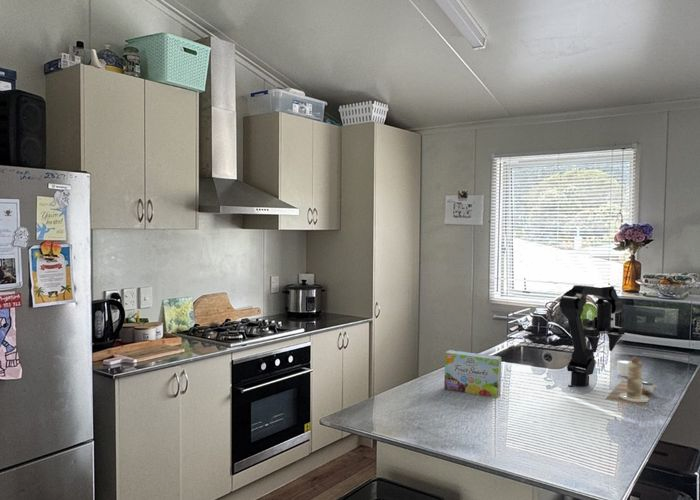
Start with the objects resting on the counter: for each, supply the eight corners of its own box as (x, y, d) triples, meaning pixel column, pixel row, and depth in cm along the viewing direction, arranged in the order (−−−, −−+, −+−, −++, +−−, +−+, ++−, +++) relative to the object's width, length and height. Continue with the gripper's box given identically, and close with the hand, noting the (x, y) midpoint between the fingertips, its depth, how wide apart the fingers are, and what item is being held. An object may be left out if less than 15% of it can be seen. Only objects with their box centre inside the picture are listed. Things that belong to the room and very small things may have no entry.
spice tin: (647, 395, 222) (648, 384, 222) (638, 392, 226) (639, 381, 226) (655, 394, 224) (656, 383, 224) (646, 391, 228) (646, 380, 228)
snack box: (443, 389, 228) (444, 351, 227) (447, 386, 233) (449, 349, 232) (497, 398, 218) (498, 358, 218) (500, 394, 223) (502, 355, 223)
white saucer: (635, 403, 211) (635, 402, 211) (613, 396, 220) (613, 394, 220) (654, 401, 215) (654, 399, 215) (632, 393, 224) (632, 392, 224)
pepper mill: (625, 397, 217) (627, 357, 216) (626, 394, 221) (628, 354, 220) (640, 399, 214) (642, 359, 214) (641, 396, 219) (643, 356, 218)
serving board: (643, 409, 209) (643, 405, 209) (604, 402, 216) (605, 399, 216) (656, 388, 236) (656, 385, 236) (621, 383, 244) (622, 380, 244)
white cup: (631, 380, 249) (632, 364, 248) (614, 377, 253) (615, 361, 252) (635, 377, 254) (635, 361, 254) (618, 374, 258) (619, 359, 258)
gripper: (605, 311, 255) (603, 346, 256) (572, 312, 248) (571, 348, 249) (626, 315, 245) (624, 351, 246) (592, 316, 238) (591, 354, 238)
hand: (602, 351), depth 245 cm, fingers open, 9 cm apart
